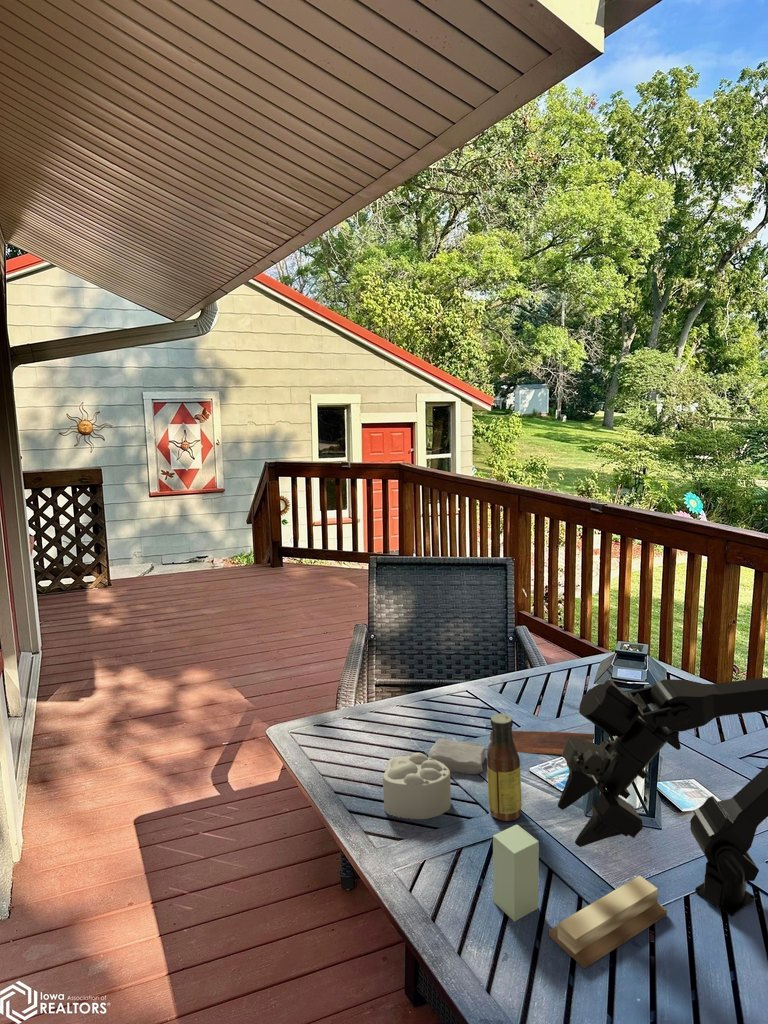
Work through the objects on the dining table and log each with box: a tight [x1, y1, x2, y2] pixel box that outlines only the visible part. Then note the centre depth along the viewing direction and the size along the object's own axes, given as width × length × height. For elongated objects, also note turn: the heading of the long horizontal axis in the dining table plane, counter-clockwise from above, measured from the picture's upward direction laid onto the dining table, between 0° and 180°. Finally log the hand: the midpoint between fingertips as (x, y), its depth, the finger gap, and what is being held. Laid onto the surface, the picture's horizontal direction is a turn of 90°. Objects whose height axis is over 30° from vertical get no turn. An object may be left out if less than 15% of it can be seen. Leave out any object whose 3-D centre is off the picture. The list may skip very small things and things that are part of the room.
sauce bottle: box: [486, 713, 523, 822], centre depth 132 cm, size 6×6×20 cm
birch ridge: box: [548, 875, 668, 969], centre depth 106 cm, size 18×7×4 cm, turn 121°
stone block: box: [427, 737, 486, 776], centre depth 152 cm, size 12×5×10 cm
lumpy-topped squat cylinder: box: [382, 752, 452, 820], centre depth 137 cm, size 10×13×9 cm
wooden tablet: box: [489, 730, 595, 756], centre depth 158 cm, size 26×2×10 cm
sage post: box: [492, 824, 540, 922], centre depth 110 cm, size 5×5×12 cm
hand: (568, 825), depth 109 cm, fingers open, 9 cm apart
